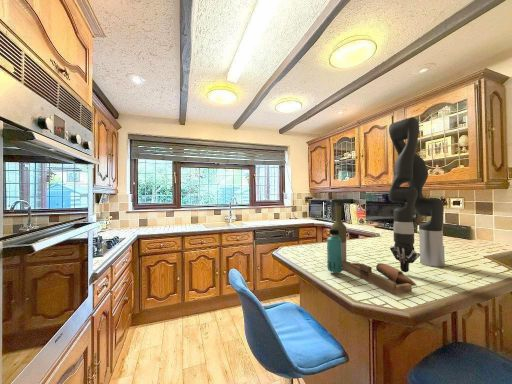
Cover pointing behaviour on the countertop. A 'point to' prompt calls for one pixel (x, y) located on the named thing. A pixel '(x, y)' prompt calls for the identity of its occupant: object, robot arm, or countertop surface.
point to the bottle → (340, 231)
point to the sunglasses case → (394, 274)
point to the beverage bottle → (334, 252)
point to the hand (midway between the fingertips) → (404, 271)
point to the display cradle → (375, 278)
